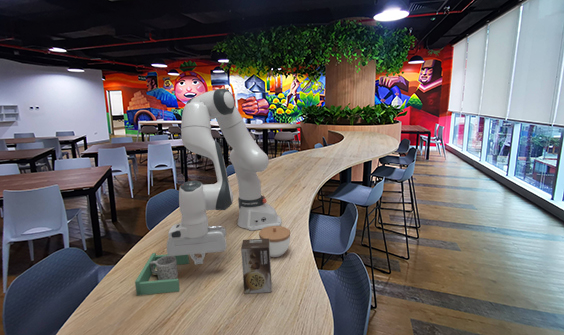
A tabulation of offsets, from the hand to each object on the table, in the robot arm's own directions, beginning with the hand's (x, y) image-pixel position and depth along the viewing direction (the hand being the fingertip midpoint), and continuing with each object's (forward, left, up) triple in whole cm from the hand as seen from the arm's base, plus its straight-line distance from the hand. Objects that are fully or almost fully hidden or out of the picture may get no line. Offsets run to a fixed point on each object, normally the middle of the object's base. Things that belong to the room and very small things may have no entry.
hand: (199, 263), depth 105 cm
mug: (+13, 0, -5) cm, 14 cm away
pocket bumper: (+12, 0, -4) cm, 12 cm away
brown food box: (-20, +11, -5) cm, 24 cm away
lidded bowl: (-28, -11, -5) cm, 31 cm away
